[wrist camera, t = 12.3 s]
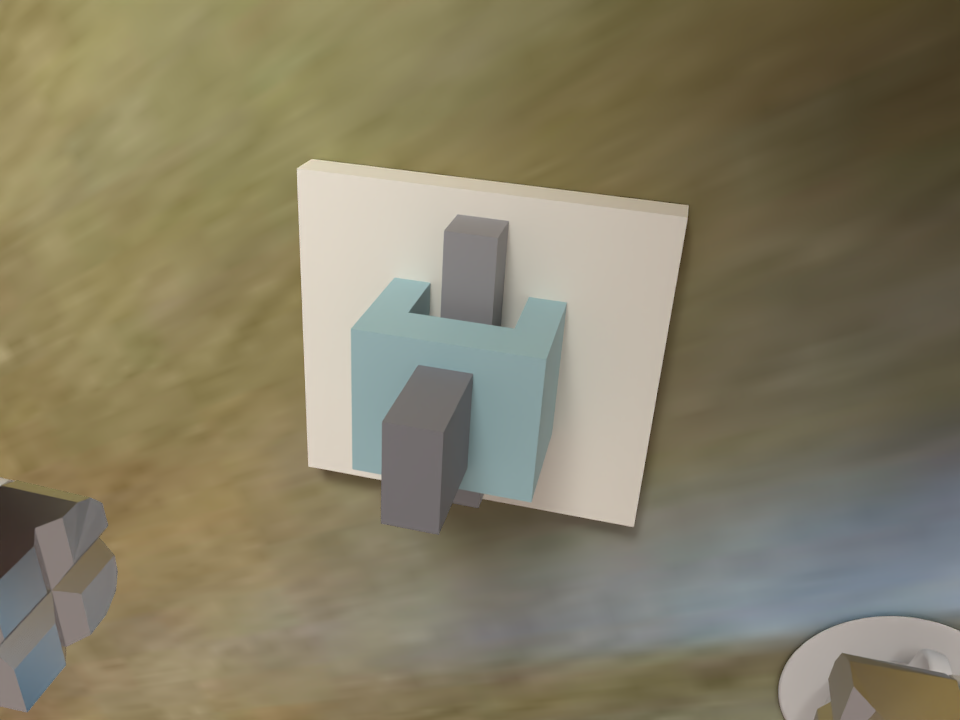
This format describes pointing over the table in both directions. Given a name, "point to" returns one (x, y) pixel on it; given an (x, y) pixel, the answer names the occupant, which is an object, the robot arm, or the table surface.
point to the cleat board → (542, 266)
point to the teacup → (865, 638)
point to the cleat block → (451, 403)
